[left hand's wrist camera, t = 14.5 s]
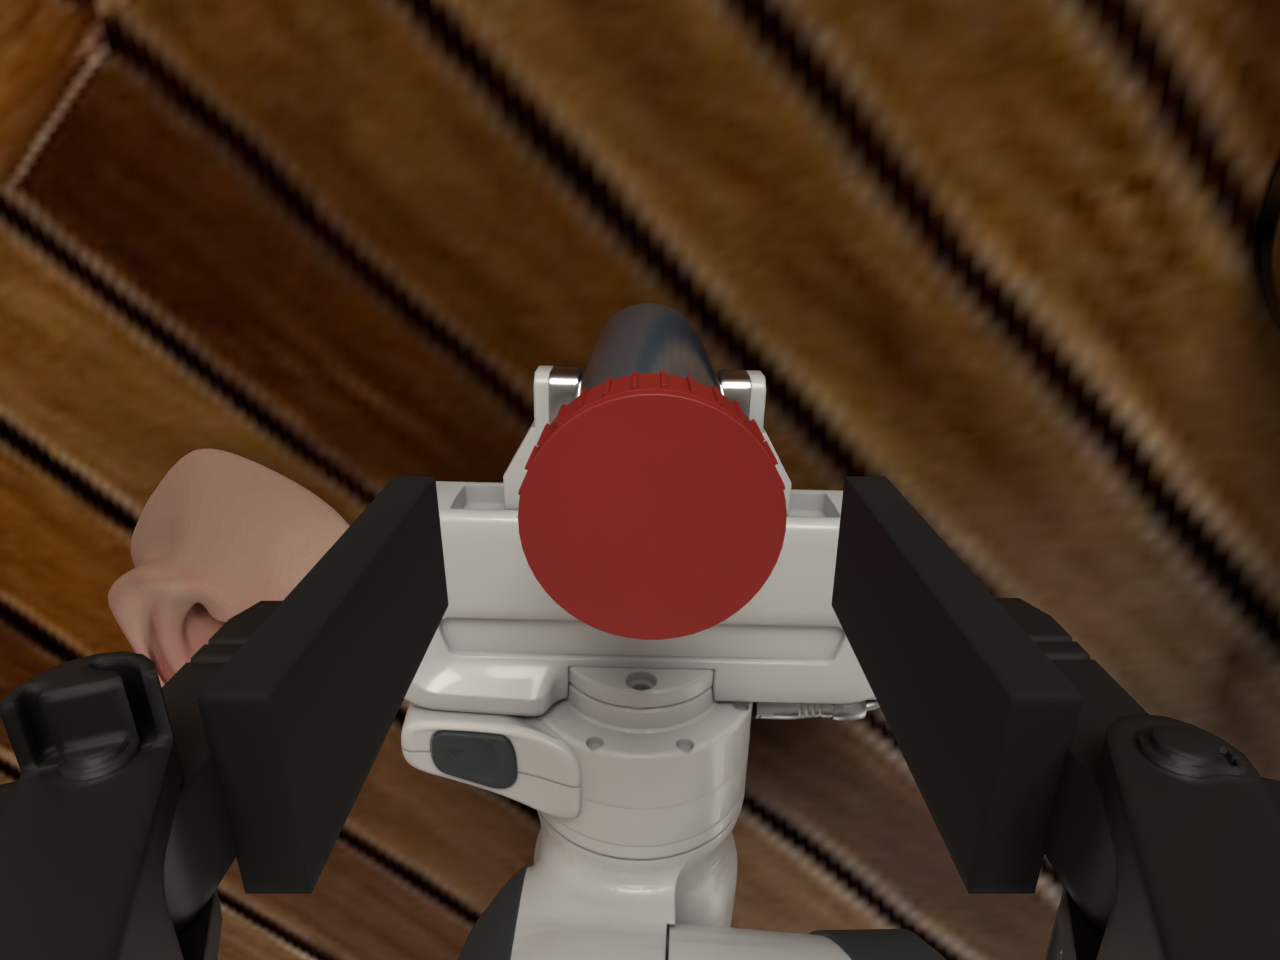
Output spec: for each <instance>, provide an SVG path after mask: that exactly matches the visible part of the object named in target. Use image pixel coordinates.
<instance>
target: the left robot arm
mask: <svg viewBox="0 0 1280 960" xmlns="http://www.w3.org/2000/svg"><path fill="white" fill-rule="evenodd" d="M1261 269H1262V277H1263V284H1264V288H1265V292H1266V297H1267V300H1268V303H1269V306H1270V309H1271V311H1272V314H1273V316H1274V318H1275V320H1276V322H1277V324H1278V326H1279V328H1280V163H1279V166H1278V169H1277V172H1276V174H1275V177H1274V180H1273V182H1272V186H1271V189H1270V193H1269V197H1268V200H1267V204H1266V209H1265V214H1264V220H1263V225H1262V236H1261ZM448 605H449V604H448V594H447V585H446V575H445V565H444V556H443V546H442V536H441V527H440V517H439V507H438V498H437V488H436V478H435V477H394V478H393V479H392V480H391V481H390V482H389V483H388V485H387V486H386V487H385V488H384V489H383V490H382V491H381V492H380V493H379V495H378V496H377V497H376V498H375V499H374V500H373V501H372V502H371V503H370V505H369V506H368V507H367V508H366V509H365V510H364V511H363V512H362V513H361V515H360V516H359V517H358V518H357V519H356V520H355V521H354V522H353V523H352V525H351V526H350V527H349V528H348V529H347V530H346V531H345V532H344V533H343V535H342V536H341V537H340V538H339V539H338V540H337V541H336V542H335V543H334V545H333V546H332V547H331V548H330V549H329V550H328V551H327V552H326V553H325V555H324V556H323V557H322V558H321V559H320V560H319V561H318V562H317V563H316V565H315V566H314V567H313V568H312V569H311V570H310V571H309V572H308V573H307V575H306V576H305V577H304V578H303V579H302V580H301V581H300V582H299V583H298V585H297V586H296V587H295V588H294V589H293V590H292V591H291V592H290V593H289V595H288V596H287V597H286V598H285V599H284V600H283V601H260V602H258V603H256V604H255V605H253V606H251V607H249V608H248V609H246V610H244V611H242V612H241V613H239V614H237V615H235V616H234V617H232V618H230V619H229V620H228V621H227V622H226V623H225V624H224V625H223V626H222V627H221V628H220V629H219V630H218V631H217V632H216V633H215V634H214V635H213V636H212V637H211V638H210V639H209V643H208V644H204V645H203V646H202V647H201V648H200V649H199V650H198V651H197V652H196V653H195V654H194V655H193V656H192V657H191V662H190V663H185V664H184V665H183V666H182V667H181V668H180V669H179V670H178V671H177V673H176V674H175V675H174V676H173V677H172V678H171V679H170V680H169V681H168V682H167V683H166V684H165V685H164V686H163V687H161V684H160V680H159V676H158V673H157V669H156V665H155V662H154V661H152V660H151V659H149V658H148V657H146V656H145V655H143V654H138V653H130V652H123V651H122V652H112V653H102V654H94V655H91V656H87V657H83V658H79V659H75V660H71V661H67V662H65V663H62V664H60V665H57V666H55V667H53V668H50V669H48V670H45V671H43V672H41V673H38V674H36V675H35V676H33V677H31V678H30V679H28V680H26V681H25V682H23V683H22V684H20V685H18V686H17V687H15V688H14V689H12V690H11V691H10V692H9V693H8V694H7V695H6V696H5V697H4V698H3V699H2V700H1V702H0V715H1V718H2V720H3V723H4V726H5V728H6V731H7V734H8V737H9V739H10V742H11V745H12V747H13V750H14V753H15V756H16V758H17V761H18V764H19V766H20V769H21V772H22V774H21V776H20V778H19V780H18V781H16V782H11V783H6V784H1V785H0V960H217V958H218V950H219V942H220V934H221V927H222V913H221V907H220V902H219V898H218V894H217V890H216V888H217V886H218V885H219V883H220V882H221V880H222V878H223V877H224V875H225V874H226V872H227V870H228V869H229V867H230V865H231V864H232V862H233V861H234V859H235V857H237V861H238V865H239V869H240V873H241V877H242V881H243V885H244V889H245V893H312V890H313V888H314V886H315V884H316V882H317V880H318V878H319V876H320V874H321V872H322V870H323V867H324V865H325V863H326V861H327V859H328V857H329V855H330V853H331V851H332V849H333V846H334V844H335V842H336V840H337V838H338V836H339V834H340V832H341V830H342V828H343V825H344V823H345V821H346V819H347V817H348V815H349V813H350V811H351V809H352V807H353V805H354V802H355V800H356V798H357V796H358V794H359V792H360V790H361V788H362V786H363V784H364V781H365V779H366V777H367V775H368V773H369V771H370V769H371V767H372V765H373V763H374V760H375V758H376V756H377V754H378V752H379V750H380V748H381V746H382V744H383V742H384V740H385V737H386V735H387V733H388V731H389V729H390V727H391V725H392V723H393V721H394V719H395V716H396V714H397V712H398V710H399V708H400V706H401V704H402V702H403V700H404V698H405V695H406V693H407V691H408V689H409V687H410V685H411V683H412V681H413V679H414V677H415V675H416V672H417V670H418V668H419V666H420V664H421V662H422V660H423V658H424V656H425V654H426V651H427V649H428V647H429V645H430V643H431V641H432V639H433V637H434V635H435V633H436V630H437V628H438V626H439V624H440V622H441V620H442V618H443V616H444V614H445V612H446V610H447V607H448ZM831 605H832V607H833V610H834V612H835V614H836V616H837V618H838V620H839V622H840V624H841V626H842V628H843V630H844V633H845V635H846V637H847V639H848V641H849V643H850V645H851V647H852V649H853V651H854V654H855V656H856V658H857V660H858V662H859V664H860V666H861V668H862V670H863V672H864V675H865V677H866V679H867V681H868V683H869V685H870V687H871V689H872V691H873V693H874V695H875V698H876V700H877V702H878V704H879V706H880V708H881V710H882V712H883V714H884V716H885V719H886V721H887V723H888V725H889V727H890V729H891V731H892V733H893V735H894V737H895V740H896V742H897V744H898V746H899V748H900V750H901V752H902V754H903V756H904V758H905V760H906V763H907V765H908V767H909V769H910V771H911V773H912V775H913V777H914V779H915V781H916V784H917V786H918V788H919V790H920V792H921V794H922V796H923V798H924V800H925V802H926V805H927V807H928V809H929V811H930V813H931V815H932V817H933V819H934V821H935V823H936V825H937V828H938V830H939V832H940V834H941V836H942V838H943V840H944V842H945V844H946V846H947V849H948V851H949V853H950V855H951V857H952V859H953V861H954V863H955V865H956V867H957V870H958V872H959V874H960V876H961V878H962V880H963V882H964V884H965V886H966V888H967V891H968V893H1035V889H1036V885H1037V881H1038V877H1039V873H1040V869H1041V865H1042V861H1043V857H1044V854H1045V855H1046V857H1047V858H1048V860H1049V862H1050V863H1051V865H1052V866H1053V868H1054V870H1055V871H1056V873H1057V874H1058V876H1059V878H1060V879H1061V881H1062V882H1063V884H1064V886H1065V887H1064V890H1063V894H1062V898H1061V902H1060V905H1059V909H1058V913H1057V916H1056V920H1055V924H1054V927H1053V931H1052V935H1051V938H1050V942H1049V946H1048V950H1047V955H1046V960H1059V957H1060V954H1062V955H1063V960H1280V781H1276V780H1271V779H1266V778H1262V777H1260V775H1259V773H1258V772H1257V770H1256V769H1255V768H1254V767H1253V765H1252V764H1251V763H1250V762H1249V761H1248V759H1247V758H1246V757H1245V756H1244V755H1243V754H1242V753H1241V752H1239V751H1238V750H1236V749H1235V748H1234V747H1232V746H1231V745H1230V744H1228V743H1227V742H1225V741H1224V740H1223V739H1221V738H1219V737H1217V736H1215V735H1213V734H1211V733H1209V732H1207V731H1205V730H1203V729H1201V728H1198V727H1196V726H1194V725H1191V724H1188V723H1185V722H1181V721H1178V720H1175V719H1171V718H1168V717H1164V716H1155V715H1149V714H1148V713H1147V712H1146V711H1145V710H1144V709H1143V708H1142V707H1141V706H1140V705H1139V704H1138V703H1137V702H1136V701H1135V700H1134V699H1133V698H1132V697H1131V696H1130V695H1129V694H1128V693H1127V692H1126V691H1125V690H1124V689H1123V688H1122V687H1121V686H1120V685H1119V684H1118V683H1117V682H1116V681H1115V680H1114V679H1113V678H1112V677H1111V676H1110V675H1109V674H1108V673H1107V672H1106V671H1105V670H1104V669H1103V668H1102V667H1101V666H1100V665H1099V664H1098V663H1097V662H1096V661H1095V660H1090V655H1089V654H1088V653H1087V652H1086V651H1085V650H1084V649H1083V648H1082V647H1081V646H1080V645H1079V644H1078V643H1077V642H1073V641H1072V637H1071V636H1070V635H1069V634H1068V633H1067V632H1066V631H1065V630H1064V629H1063V628H1062V627H1061V626H1060V625H1059V624H1058V623H1057V622H1056V621H1055V620H1054V619H1053V618H1052V617H1051V616H1050V615H1048V614H1046V613H1044V612H1042V611H1041V610H1039V609H1037V608H1035V607H1034V606H1032V605H1030V604H1028V603H1027V602H1025V601H1023V600H1021V599H1020V598H994V597H993V596H992V595H991V593H990V592H989V591H988V590H987V589H986V588H985V587H984V586H983V585H982V583H981V582H980V581H979V580H978V579H977V578H976V577H975V576H974V575H973V573H972V572H971V571H970V570H969V569H968V568H967V567H966V566H965V565H964V563H963V562H962V561H961V560H960V559H959V558H958V557H957V556H956V555H955V553H954V552H953V551H952V550H951V549H950V548H949V547H948V546H947V545H946V543H945V542H944V541H943V540H942V539H941V538H940V537H939V536H938V535H937V533H936V532H935V531H934V530H933V529H932V528H931V527H930V526H929V525H928V523H927V522H926V521H925V520H924V519H923V518H922V517H921V516H920V515H919V513H918V512H917V511H916V510H915V509H914V508H913V507H912V506H911V505H910V503H909V502H908V501H907V500H906V499H905V498H904V497H903V496H902V495H901V493H900V492H899V491H898V490H897V489H896V488H895V487H894V486H893V485H892V483H891V482H890V481H889V480H888V479H887V478H886V477H845V478H844V488H843V498H842V507H841V517H840V527H839V536H838V546H837V556H836V565H835V575H834V585H833V594H832V604H831Z"/></svg>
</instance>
